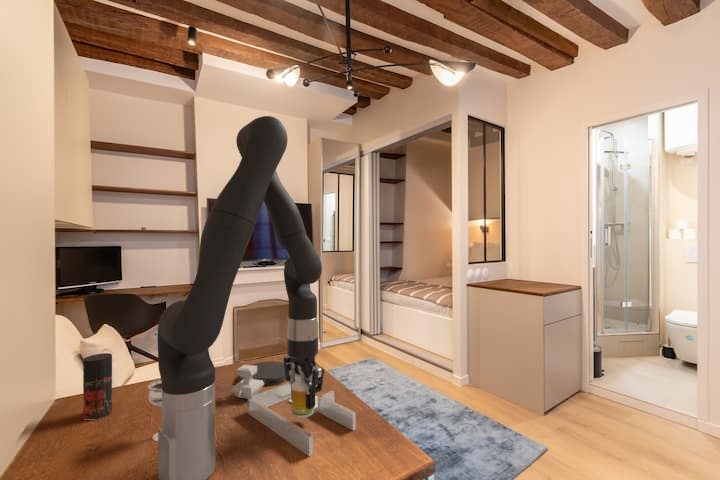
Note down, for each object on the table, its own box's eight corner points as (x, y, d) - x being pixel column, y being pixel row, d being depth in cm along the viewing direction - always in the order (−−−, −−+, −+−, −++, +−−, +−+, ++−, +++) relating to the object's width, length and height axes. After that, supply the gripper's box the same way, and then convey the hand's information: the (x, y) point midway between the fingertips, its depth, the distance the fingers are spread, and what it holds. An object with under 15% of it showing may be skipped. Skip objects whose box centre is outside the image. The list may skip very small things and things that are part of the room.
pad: (308, 412, 88) (308, 411, 88) (288, 401, 94) (288, 400, 94) (328, 403, 93) (328, 401, 93) (308, 393, 99) (308, 391, 99)
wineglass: (151, 429, 80) (151, 379, 80) (183, 424, 82) (183, 375, 82) (144, 446, 74) (144, 391, 74) (179, 439, 76) (179, 386, 76)
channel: (309, 456, 70) (309, 437, 70) (247, 413, 88) (247, 397, 88) (366, 422, 83) (366, 406, 83) (303, 390, 101) (303, 377, 101)
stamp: (249, 404, 92) (249, 374, 92) (228, 401, 94) (228, 371, 94) (266, 390, 101) (266, 362, 101) (247, 388, 103) (247, 360, 103)
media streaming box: (290, 368, 119) (290, 360, 119) (283, 386, 105) (283, 376, 105) (248, 369, 118) (248, 361, 118) (236, 387, 104) (236, 377, 104)
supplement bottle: (309, 419, 79) (309, 378, 79) (288, 417, 80) (288, 376, 80) (317, 408, 85) (317, 370, 85) (297, 406, 86) (297, 368, 86)
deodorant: (78, 417, 86) (78, 358, 86) (104, 407, 91) (104, 352, 91) (90, 422, 83) (90, 362, 83) (116, 412, 88) (116, 355, 89)
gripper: (273, 332, 85) (273, 399, 85) (308, 344, 75) (308, 420, 75) (298, 327, 90) (298, 390, 90) (333, 337, 80) (333, 408, 80)
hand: (302, 403), depth 83 cm, fingers closed on supplement bottle, 5 cm apart
